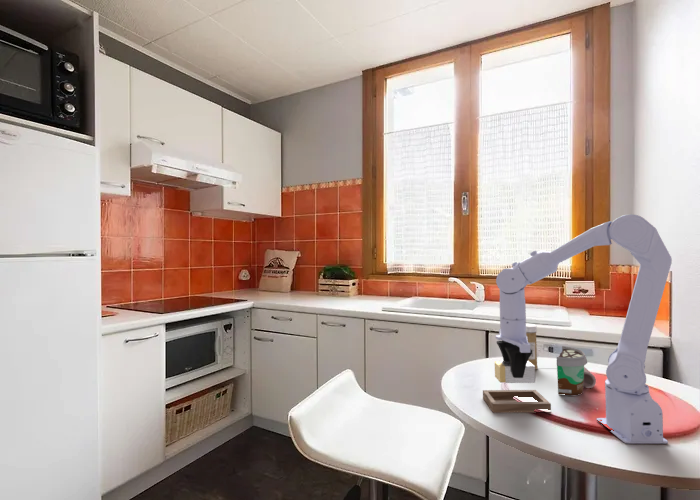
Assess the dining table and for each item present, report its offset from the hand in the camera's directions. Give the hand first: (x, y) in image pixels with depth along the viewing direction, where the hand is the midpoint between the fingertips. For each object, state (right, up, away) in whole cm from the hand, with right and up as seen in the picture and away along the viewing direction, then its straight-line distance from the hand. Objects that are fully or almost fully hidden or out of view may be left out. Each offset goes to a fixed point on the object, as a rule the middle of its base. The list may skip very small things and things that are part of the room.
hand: (514, 373), depth 88 cm
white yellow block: (0, -1, 0) cm, 1 cm away
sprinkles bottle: (+16, -7, +25) cm, 31 cm away
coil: (+25, -7, +17) cm, 31 cm away
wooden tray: (0, -8, 0) cm, 8 cm away
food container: (+19, -7, +7) cm, 21 cm away
